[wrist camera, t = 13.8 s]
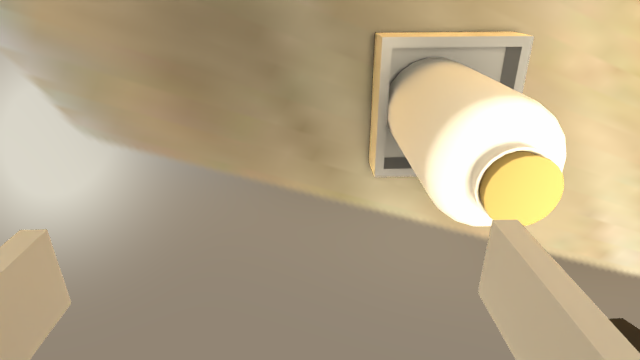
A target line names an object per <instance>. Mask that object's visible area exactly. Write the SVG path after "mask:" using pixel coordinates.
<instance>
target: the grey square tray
mask: <svg viewBox="0 0 640 360" xmlns="http://www.w3.org/2000/svg"><path fill="white" fill-rule="evenodd" d="M533 39H534V36H532V35H527V34H523V33H518V32H393V33H375V49H374V69H373V89H372V109H371V129H370V149H369V164H370V167H371V170H372V172H373V175H374V177H417V176H416V174H415V172H414V171H413V169H412V167H411V165H410V164H409V162H408V160H407V159H406V157H405V155H404V154H403V152H402V150H401V148H400V147H399V145H398V143H397V142H396V140H395V138H394V137H393V135H392V133H391V132H390V130H389V128H388V126H387V112H388V97H389V87H390V85H391V83H392V82H393V81H394V79H395V78H396V77H397V76H398V74H399V73H400V72H401V71H402V70H404V69H405V68H406V67H408V66H409V65H411V64H412V63H414V62H417V61H420V60H423V59H426V58H447V59H450V60H453V61H456V62H459V63H461V64H463V65H465V66H467V67H469V68H471V69H473V70H475V71H477V72H479V73H481V74H483V75H485V76H487V77H489V78H491V79H493V80H495V81H497V82H499V83H501V84H503V85H505V86H507V87H509V88H511V89H513V90H516V91H518V92H520V93H523V88H524V83H525V78H526V73H527V69H528V64H529V59H530V54H531V49H532V44H533Z"/></svg>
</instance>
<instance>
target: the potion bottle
mask: <svg viewBox="0 0 640 360" xmlns="http://www.w3.org/2000/svg"><path fill="white" fill-rule="evenodd" d="M387 126H388V128H389V130H390V132H391V133H392V135H393V137H394V138H395V140H396V142H397V143H398V145H399V147H400V148H401V150H402V152H403V154H404V155H405V157H406V159H407V160H408V162H409V164H410V165H411V167H412V169H413V171H414V172H415V174H416V176H417V177H418V179H419V181H420V182H421V184H422V186H423V187H424V189H425V191H426V193H427V194H428V195H429V197H430V198H431V200H432V201H433V203H434V204H435V206H436V207H437V208H438V209H439V210H441V211H442V212H443V213H445V214H446V215H448V216H449V217H451V218H452V219H453V220H455V221H457V222H461V223H464V224H468V225H471V226H491V224H492V220H516V219H517V220H518V221H519V222H520V223H521V224H522V225H523V226H526V225H530V224H533V223H535V222H537V221H539V220H541V219H542V218H544V217H546V216H547V215H548V214H549V213H550V212H551V211H552V210H553V209H554V208H555V206H556V205H557V203H558V202H559V200H560V199H561V196H562V192H563V189H564V178H563V174H562V170H563V167H564V163H565V160H566V142H565V135H564V133H563V131H562V129H561V127H560V125H559V123H558V121H557V119H556V118H555V116H554V115H553V114H552V113H551V112H549V111H548V110H547V109H546V108H545V107H544V106H543V105H541V104H540V103H539V102H538V101H536V100H534V99H532V98H530V97H528V96H526V95H524V94H522V93H520V92H518V91H516V90H513V89H511V88H509V87H507V86H505V85H503V84H501V83H499V82H497V81H495V80H493V79H491V78H489V77H487V76H485V75H483V74H481V73H479V72H477V71H475V70H473V69H471V68H469V67H467V66H465V65H463V64H461V63H459V62H456V61H453V60H450V59H447V58H426V59H423V60H420V61H417V62H414V63H412V64H411V65H409V66H408V67H406V68H405V69H404V70H402V71H401V72H400V73H399V74H398V76H397V77H396V78H395V79H394V81H393V82H392V83H391V85H390V87H389V97H388V112H387Z"/></svg>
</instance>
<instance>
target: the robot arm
mask: <svg viewBox="0 0 640 360" xmlns="http://www.w3.org/2000/svg"><path fill="white" fill-rule="evenodd" d="M478 293H479V296H480V297H481V299H482V301H483V302H484V304H485V306H486V308H487V310H488V311H489V313H490V315H491V317H492V318H493V320H494V322H495V324H496V325H497V327H498V329H499V331H500V333H501V334H502V336H503V338H504V340H505V342H506V343H507V345H508V347H509V349H510V350H511V352H512V354H513V356H514V357H515V359H516V360H640V329H638V328H637V327H635V326H633V325H632V324H630V323H629V322H627V321H626V320H624V319H623V318H621V319H620V318H618V319H608V318H607V317H606V316H605V315H604V314H603V313H602V312H601V310H600V309H599V308H598V307H597V306H596V305H595V304H594V303H593V302H592V301H591V299H590V298H589V297H588V296H587V295H586V294H585V293H584V292H583V291H582V290H581V289H580V288H579V286H578V285H577V284H576V283H575V282H574V281H573V280H572V279H571V278H570V276H569V275H568V274H567V273H566V272H565V271H564V270H563V269H562V268H561V267H560V265H559V264H558V263H557V262H556V261H555V260H554V259H553V258H552V257H551V256H550V255H549V253H548V252H547V251H546V250H545V249H544V248H543V247H542V246H541V245H540V244H539V242H538V241H537V240H536V239H535V238H534V237H533V236H532V235H531V234H530V233H529V232H528V230H527V229H526V228H525V227H524V226H523V225H522V224H521V223H520V222H519V221H518V220H517V219H516V220H492V224H491V229H490V234H489V239H488V244H487V249H486V254H485V259H484V264H483V269H482V274H481V279H480V284H479V289H478ZM70 305H71V300H70V297H69V294H68V291H67V288H66V285H65V282H64V279H63V276H62V273H61V270H60V267H59V264H58V261H57V258H56V255H55V252H54V249H53V246H52V243H51V240H50V237H49V234H48V231H47V229H42V230H19V231H18V232H17V233H16V234H15V235H14V236H12V237H11V238H10V239H9V240H8V241H7V242H5V243H4V244H3V245H2V246H1V247H0V360H30V359H31V357H32V356H33V355H34V353H35V352H36V351H37V349H38V348H39V347H40V345H41V344H42V343H43V341H44V340H45V339H46V337H47V336H48V334H49V333H50V331H51V330H52V329H53V328H54V326H55V325H56V323H57V322H58V321H59V320H60V318H61V317H62V315H63V314H64V313H65V311H66V310H67V308H68V307H69V306H70Z"/></svg>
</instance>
